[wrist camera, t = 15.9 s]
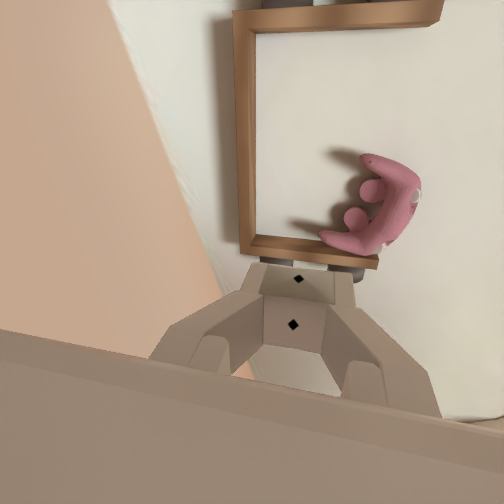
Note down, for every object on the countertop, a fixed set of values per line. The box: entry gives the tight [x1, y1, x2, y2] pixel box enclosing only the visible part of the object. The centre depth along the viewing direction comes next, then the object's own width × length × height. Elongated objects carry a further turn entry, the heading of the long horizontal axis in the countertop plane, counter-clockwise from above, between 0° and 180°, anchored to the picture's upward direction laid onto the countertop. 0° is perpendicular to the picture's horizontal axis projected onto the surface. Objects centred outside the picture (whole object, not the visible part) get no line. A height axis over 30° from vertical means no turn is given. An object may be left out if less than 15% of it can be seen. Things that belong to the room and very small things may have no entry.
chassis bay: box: [232, 0, 444, 283], centre depth 28 cm, size 15×26×4 cm, turn 0°
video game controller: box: [318, 154, 421, 256], centre depth 29 cm, size 10×5×7 cm
